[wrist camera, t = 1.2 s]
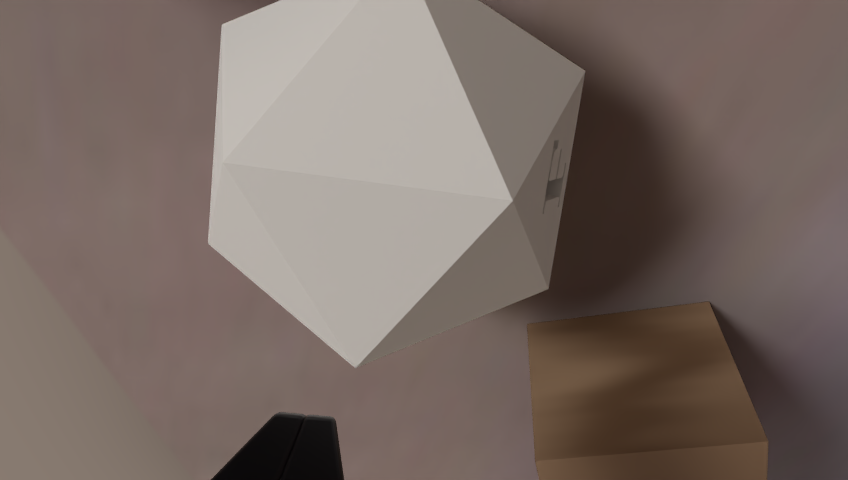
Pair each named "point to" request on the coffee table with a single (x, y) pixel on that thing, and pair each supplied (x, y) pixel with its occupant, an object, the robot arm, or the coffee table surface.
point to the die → (390, 164)
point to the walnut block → (641, 399)
